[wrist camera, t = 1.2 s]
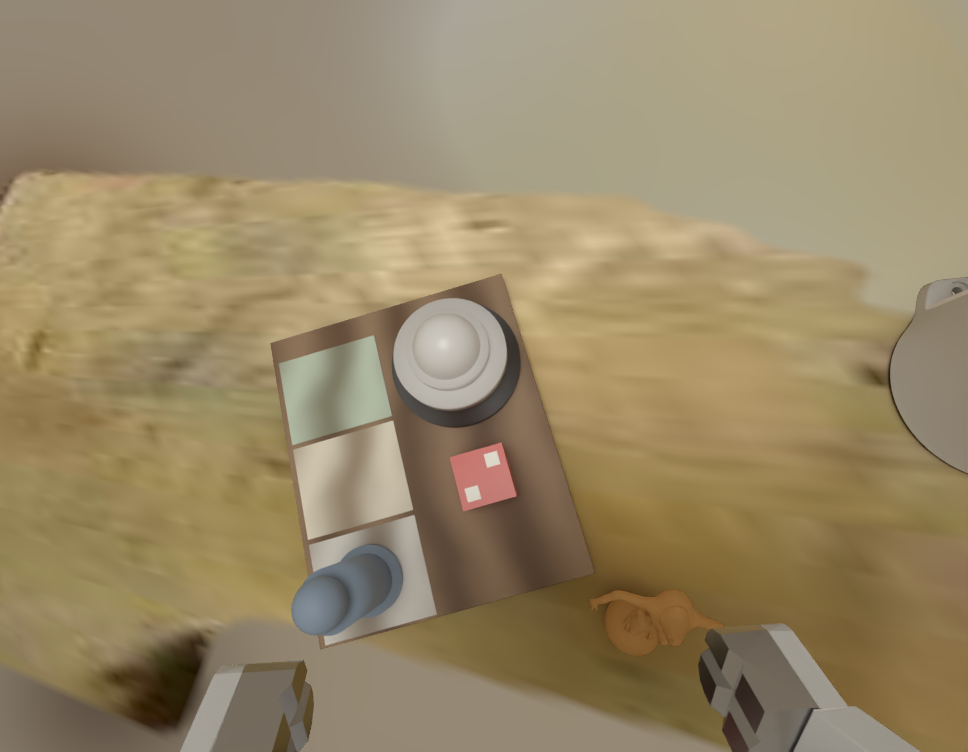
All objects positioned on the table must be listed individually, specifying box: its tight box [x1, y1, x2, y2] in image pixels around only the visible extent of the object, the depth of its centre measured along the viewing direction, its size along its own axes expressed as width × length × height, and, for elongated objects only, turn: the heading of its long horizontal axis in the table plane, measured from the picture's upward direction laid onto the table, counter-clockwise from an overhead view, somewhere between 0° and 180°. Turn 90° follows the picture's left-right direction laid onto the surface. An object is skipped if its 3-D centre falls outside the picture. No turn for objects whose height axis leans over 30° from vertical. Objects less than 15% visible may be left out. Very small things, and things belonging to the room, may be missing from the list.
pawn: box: [292, 544, 403, 636], centre depth 32 cm, size 5×5×11 cm
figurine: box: [589, 589, 725, 656], centre depth 31 cm, size 8×6×12 cm
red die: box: [450, 443, 518, 511], centre depth 37 cm, size 4×4×4 cm
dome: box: [393, 298, 507, 411], centre depth 36 cm, size 9×9×5 cm
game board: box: [271, 274, 595, 649], centre depth 40 cm, size 22×26×2 cm
